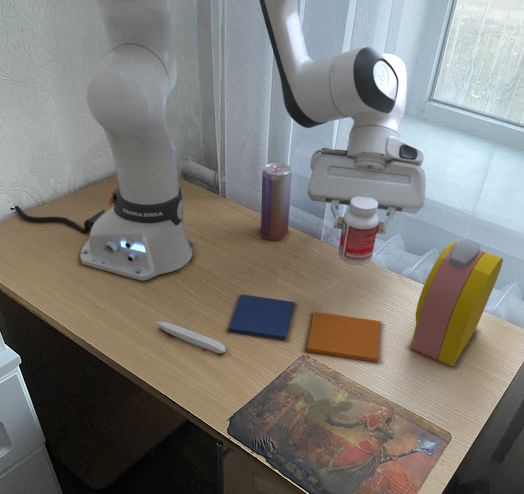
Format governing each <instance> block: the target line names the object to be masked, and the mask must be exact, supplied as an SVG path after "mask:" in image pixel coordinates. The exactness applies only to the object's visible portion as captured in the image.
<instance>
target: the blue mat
mask: <svg viewBox="0 0 524 494" xmlns="http://www.w3.org/2000/svg"><path fill="white" fill-rule="evenodd" d="M294 305H295V301H291V300H283V299H277V298H269V297H263V296H256V295H249V294H240V297H239V300H238V301H237V305H236V308H235V310H234V314H233V316H232V319H231V321H230V324H229V325H228V326H229V327H228V332H231V333H238V334H242V335H243V334H244V335H250V336H255V337H256V336H257V337H264V338H269V339H276V340H282V341H283V340H286V337H287V334H288V329H289V325H290V321H291V317H292V312H293V309H294Z"/></svg>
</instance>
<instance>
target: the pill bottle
mask: <svg viewBox="0 0 524 494" xmlns="http://www.w3.org/2000/svg"><path fill="white" fill-rule="evenodd" d="M348 206H349V207H348V208H349V209H347V210H346V211H345V213H344V215H343V217H344V218H343V225H342V229H341V231H340V237H339V245H338V253H337V254H338V258H339V259H340V260H341V261H342V262H344V263H345V264H347V265H351V266H363V265H367V264H368V263H369V262H370V261H371V260H372V258H373V253H374V249H375V243H376V239H377V235H378V234H377V229H378V224H379V222H380V217H379V215H378V213H377V212H378V209H377V208H378V202H377V201H376V200H375V199H373V198H368V197H359V196H357V197H354V198H352V199H351V202H350V205H348Z"/></svg>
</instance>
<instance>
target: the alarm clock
mask: <svg viewBox="0 0 524 494" xmlns="http://www.w3.org/2000/svg"><path fill="white" fill-rule="evenodd" d="M503 262H504V259H503V258H502V257H501V256H498V255H495V254H493V253H489V252H487V251H486V252H485V251H483V250H481V245H480V243H477V242H474V241H471V240H468V239H462V240H460V241H452V242H450V244H448V245H447V246H446V247H445V248H443V250H442V252H441V253H440V254H439V256H438V257H437V259H436V260H435V262H434V264H433V266H432V268H431V270H430V272H429V274H428V276H427V278H426V280H425V282H424V284H423V287H422V290H421V292H420V295H419V299H418V301H417V304H416V309H415V327H414V330H413V336H412V340H411V344H410V349H411V350H413V351H416V352H418V353H421V354H422V355H425V356H427V357H429V358H432V359H434V360H435V361H438V362H441V363H443V364H445V365H448V366H449V367H453V366H454V365H455V363H456V362H457V360H458V358H459V357H460V355H461V354H462V352H463V350H464V349H465V347H466V346H467V344H468V343H469V341H470V340H471V338H472V336H473V335H474V334H475V332H476V330H477V328H478V325H479V323H480V320H481V318H482V315H483V313H484V311H485V308H486V306H487V303H488V302H489V299H490V297H491V294H492V292H493V289H494V287H495V285H496V282H497V280H498V277H499V274H500V272H501V269H502V266H503Z"/></svg>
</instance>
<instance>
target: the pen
mask: <svg viewBox="0 0 524 494" xmlns="http://www.w3.org/2000/svg"><path fill="white" fill-rule="evenodd" d="M155 323H156V324H157V326H158V327H159V328H160V329H161V330H162V331H164V332H165V333H168V334H170V335H171V336H173V337H175V338H177V339H179V340H181V341H184V342H186V343H189V344H191V345H195V346H197V347H200V348H202V349H205V350H207V351H210V352H212V353H215V354H224V353H226V351H227V350H226V349H227V348H226V347H225V345H224V343H221V342H220V341H218V340H215V339H213V338H210V337H208V336H205V335H203V334H200V333H197V332H195V331H192V330H190V329H187V328H184V327H181V326H179V325H176V324H173V323H170V322H168V321H156V322H155Z"/></svg>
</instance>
